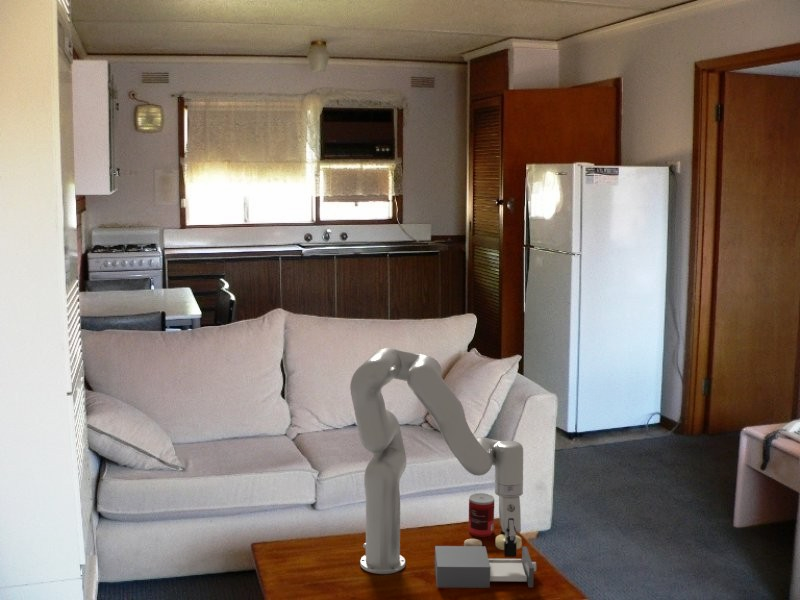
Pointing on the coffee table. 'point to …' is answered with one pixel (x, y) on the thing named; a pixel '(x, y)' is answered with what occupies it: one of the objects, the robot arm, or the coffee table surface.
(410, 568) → the coffee table surface
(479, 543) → the beige rounded lump
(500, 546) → the cream domed disc
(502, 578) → the drawer
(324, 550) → the coffee table surface
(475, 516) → the canned food
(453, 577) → the housing
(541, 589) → the coffee table surface
